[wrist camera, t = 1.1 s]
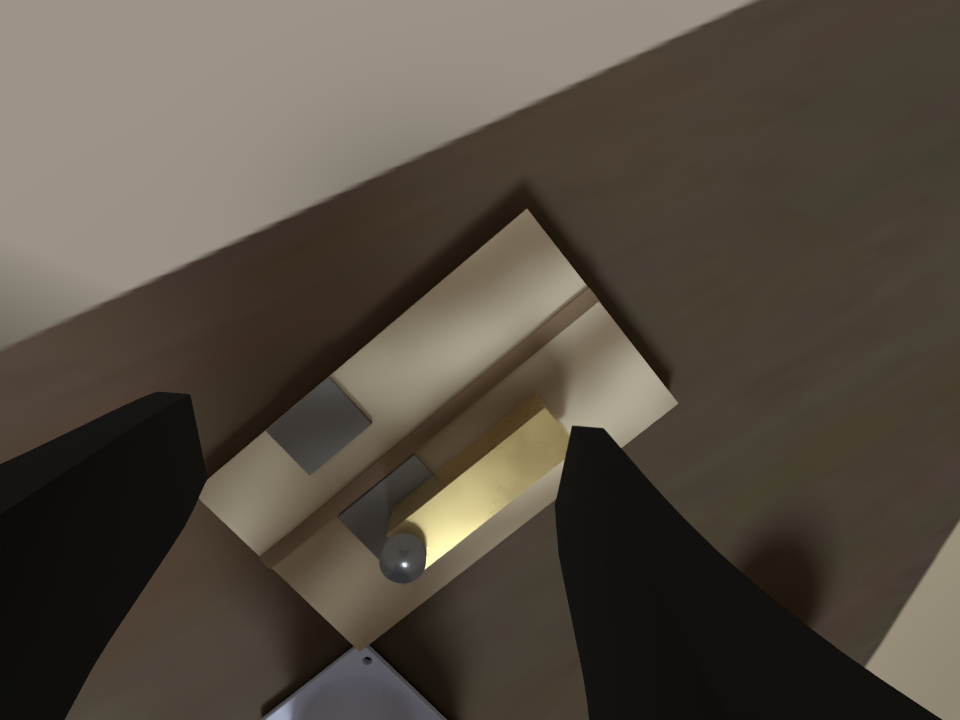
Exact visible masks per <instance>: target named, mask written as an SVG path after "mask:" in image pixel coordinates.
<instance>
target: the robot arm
mask: <svg viewBox="0 0 960 720" xmlns="http://www.w3.org/2000/svg"><path fill="white" fill-rule="evenodd" d="M206 481H207V474H206V469H205V464H204V459H203V455H202V450H201V445H200V440H199V435H198V430H197V425H196V420H195V416H194V411H193V406H192V401H191V396H190V394H180V393H167V392H155V393H152V394H150V395H147V396H145V397H142V398H140V399H138V400H135V401H133V402H131V403H129V404H127V405H124V406H122V407H120V408H118V409H116V410H114V411H112V412H110V413H107V414H105V415H103V416H101V417H99V418H97V419H95V420H93V421H91V422H89V423H87V424H85V425H83V426H81V427H78V428H76V429H74V430H72V431H70V432H68V433H66V434H64V435H62V436H60V437H58V438H56V439H54V440H51V441H49V442H47V443H45V444H43V445H41V446H39V447H37V448H35V449H33V450H31V451H29V452H26V453H24V454H22V455H20V456H17V457H15V458H13V459H11V460H8V461H6V462H4V463H2V464H0V720H65V718H66V716H67V714H68V712H69V710H70V708H71V707H72V705H73V703H74V701H75V699H76V697H77V696H78V694H79V692H80V690H81V688H82V686H83V684H84V683H85V681H86V679H87V677H88V675H89V673H90V671H91V670H92V668H93V666H94V665H95V663H96V661H97V660H98V658H99V656H100V655H101V653H102V652H103V650H104V648H105V647H106V645H107V643H108V642H109V640H110V639H111V637H112V636H113V634H114V633H115V631H116V630H117V628H118V627H119V625H120V624H121V622H122V621H123V619H124V618H125V616H126V615H127V613H128V612H129V610H130V609H131V607H132V606H133V604H134V603H135V601H136V600H137V598H138V597H139V595H140V594H141V592H142V591H143V589H144V588H145V586H146V585H147V583H148V582H149V580H150V579H151V577H152V576H153V574H154V573H155V571H156V570H157V568H158V567H159V565H160V564H161V562H162V561H163V559H164V558H165V556H166V555H167V553H168V552H169V550H170V548H171V547H172V545H173V544H174V542H175V541H176V539H177V538H178V536H179V535H180V533H181V531H182V530H183V528H184V527H185V525H186V523H187V521H188V519H189V517H190V515H191V513H192V511H193V509H194V507H195V505H196V503H197V501H198V498H199V496H200V494H201V492H202V490H203V487H204V485H205V483H206ZM555 514H556V528H557V540H558V552H559V558H560V563H561V569H562V574H563V579H564V584H565V589H566V594H567V599H568V604H569V608H570V613H571V618H572V623H573V628H574V633H575V638H576V643H577V648H578V652H579V657H580V662H581V667H582V672H583V678H584V684H585V691H586V697H587V704H588V713H589V720H942V719H940V718H939V717H937V716H935V715H934V714H932V713H931V712H929V711H928V710H926V709H925V708H923V707H922V706H920V705H919V704H917V703H916V702H914V701H913V700H911V699H910V698H908V697H907V696H905V695H904V694H902V693H901V692H899V691H898V690H896V689H895V688H893V687H892V686H890V685H889V684H887V683H886V682H884V681H883V680H881V679H880V678H878V677H877V676H875V675H874V674H873V673H871V672H870V671H868V670H867V669H865V668H864V667H863V666H861V665H860V664H858V663H857V662H856V661H854V660H853V659H851V658H850V657H848V656H847V655H846V654H844V653H843V652H841V651H840V650H839V649H837V648H836V647H835V646H833V645H832V644H831V643H829V642H828V641H827V640H825V639H824V638H823V637H821V636H820V635H819V634H817V633H816V632H815V631H813V630H812V629H811V628H809V627H808V626H807V625H805V624H804V623H803V622H801V621H800V620H799V619H797V618H796V617H795V616H793V615H792V614H791V613H790V612H788V611H787V610H786V609H785V608H783V607H782V606H781V605H780V604H778V603H777V602H776V601H775V600H773V599H772V598H771V597H770V596H768V595H767V594H766V593H765V592H764V591H763V590H761V589H760V588H759V587H758V586H757V585H756V584H754V583H753V582H752V581H751V580H750V579H749V578H747V577H746V576H745V575H744V574H743V573H742V572H740V571H739V570H738V569H737V568H736V567H735V566H733V565H732V564H731V563H730V562H729V561H728V560H727V559H726V558H725V557H723V556H722V555H721V554H720V553H719V552H718V551H717V550H716V549H715V548H714V547H713V546H712V545H711V544H710V543H709V542H708V541H707V540H706V539H705V538H704V537H702V536H701V535H700V534H699V533H698V532H697V531H696V530H695V529H694V528H693V527H692V526H691V525H690V524H689V523H688V522H687V521H686V520H685V519H684V518H683V517H682V516H681V515H680V514H679V513H678V511H677V510H676V509H675V508H674V507H673V506H672V505H671V504H670V503H669V502H668V501H667V500H666V499H665V498H664V497H663V496H662V494H661V493H660V492H659V491H658V490H657V489H656V488H655V487H654V486H653V485H652V483H651V482H650V481H649V480H648V479H647V478H646V477H645V475H644V474H643V473H642V472H641V471H640V470H639V469H638V467H637V466H636V465H635V464H634V463H633V462H632V460H631V459H630V458H629V457H628V456H627V455H626V453H625V452H624V451H623V450H622V449H621V448H620V446H619V445H618V444H617V443H616V442H615V440H614V439H613V438H612V437H611V436H610V435H609V433H608V432H607V431H606V430H605V429H604V428H598V427H585V426H573V425H572V428H571V432H570V437H569V442H568V446H567V451H566V456H565V460H564V465H563V470H562V474H561V479H560V484H559V488H558V493H557V498H556V502H555ZM365 657H370V658H371V659H370V660H367V659H365ZM261 720H447V719H446V718H445V717H444V716H443V715H442V714H440V713H439V712H438V711H437V710H436V709H435V708H434V707H433V706H432V705H431V704H430V703H429V702H428V701H427V700H426V699H425V698H424V697H423V696H422V695H421V694H420V693H419V692H418V691H417V690H415V689H414V688H413V687H412V686H411V685H410V684H409V683H408V682H407V681H406V680H405V679H404V678H403V677H402V676H401V675H400V674H399V673H398V672H397V671H396V670H395V669H394V668H393V667H392V666H390V665H389V664H388V663H387V662H386V661H385V660H384V659H383V658H382V657H381V656H380V655H379V654H378V653H377V652H376V651H375V650H374V649H373V648H372V647H371V646H370V645H368V646H367V647H365V648H364V649H363V650H362V651H360V652H359V651H358V650H357V649H356V648H355V647H354V646H353V647H352V648H351V649H349V650H348V651H347V652H346V653H344V654H343V655H342V656H341V657H339V658H338V659H337V660H335V661H334V662H333V663H332V664H330V665H329V666H328V667H326V668H325V669H324V670H323V671H321V672H320V673H319V674H318V675H316V676H315V677H314V678H312V679H311V680H310V681H309V682H307V683H306V684H305V685H303V686H302V687H301V688H300V689H298V690H297V691H296V692H295V693H293V694H292V695H291V696H289V697H288V698H287V699H286V700H284V701H283V702H282V703H280V704H279V705H278V706H277V707H275V708H274V709H273V710H271V711H270V712H269V713H268V714H266V715H265V716H264V717H263V718H262V719H261Z"/></svg>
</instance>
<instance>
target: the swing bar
mask: <svg viewBox="0 0 960 720" xmlns="http://www.w3.org/2000/svg"><path fill="white" fill-rule="evenodd" d="M569 437H570V433H569V432H568V430H567V429H566V427H565V426H564V425H563V424H562V423H561V421H560V420H559V419H558V418H557V417H556V415H555V414H554V413H553V412H552V411H551V410H550V408H549V407H548V406H547V405H546V404H545V402H544V401H543V400H542V399H541V398H540V396H539V395H538V394H537V393H536V392H535V393H534V394H533V395H531V396H530V397H529V398H528V399H526V400H525V401H524V402H523V403H521V404H520V405H519V406H518V407H517V408H515V409H514V410H513V411H512V412H510V413H509V414H508V415H507V416H505V417H504V418H503V419H502V420H500V421H499V422H498V423H497V424H495V425H494V426H493V427H492V428H490V429H489V430H488V431H487V432H486V433H484V434H483V435H482V436H481V437H479V438H478V439H477V440H476V441H474V442H473V443H472V444H471V445H469V446H468V447H467V448H466V449H464V450H463V451H462V452H461V453H460V454H458V455H457V456H456V457H455V458H453V459H452V460H451V461H450V462H448V463H447V464H446V465H445V466H443V467H442V468H441V469H440V470H438V471H437V472H436V473H435V474H433V475H432V476H431V477H430V478H429V479H427V480H426V481H425V482H424V483H422V484H421V485H420V486H419V487H417V488H416V489H415V490H414V491H412V492H411V493H410V494H409V495H407V496H406V497H405V498H404V499H403V500H401V501H400V502H399V503H398V504H396V505H395V506H394V507H393V509H392V513H391V516H390V519H389V523H388V527H387V531H386V535H385V539H384V543H383V547H382V551H381V555H380V560H379V565H380V569H381V572H382V573H383V575H384V576H385V577H386V578H387V579H389V580H391V581H393V582H395V583H410V582H412V581H414V580H416V579H418V578H419V577H420V576H421V575H422V573H423V572H424V570H425V569H426V568H427V567H429V566H430V565H431V564H432V563H434V562H435V561H436V560H438V559H439V558H440V557H441V556H443V555H444V554H445V553H446V552H448V551H449V550H450V549H452V548H453V547H454V546H455V545H457V544H458V543H459V542H460V541H462V540H463V539H464V538H466V537H467V536H468V535H469V534H471V533H472V532H473V531H474V530H476V529H477V528H478V527H479V526H481V525H482V524H483V523H485V522H486V521H487V520H488V519H490V518H491V517H492V516H493V515H495V514H496V513H497V512H499V511H500V510H501V509H502V508H504V507H505V506H506V505H507V504H509V503H510V502H511V501H513V500H514V499H515V498H516V497H518V496H519V495H520V494H521V493H523V492H524V491H525V490H526V489H528V488H529V487H530V486H532V485H533V484H534V483H535V482H537V481H538V480H539V479H540V478H542V477H543V476H544V475H546V474H547V473H548V472H549V471H551V470H552V469H553V468H554V467H556V466H557V465H558V464H560V463H561V462H562V461H563V460H565V456H566V451H567V446H568V442H569Z"/></svg>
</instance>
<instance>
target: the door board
mask: <svg viewBox="0 0 960 720" xmlns="http://www.w3.org/2000/svg"><path fill="white" fill-rule="evenodd" d="M535 392H536V393H537V394H538V395H539V396H540V398H541V399H542V400H543V401H544V402H545V404H546V405H547V406H548V407H549V408H550V410H551V411H552V412H553V413H554V414H555V415H556V417H557V418H558V419H559V420H560V421H561V423H562V424H563V425H564V426H565V427H566V429H567V430H568V432H569V433H570V432H571V428H572V425H573V426H585V427H598V428H604V429H605V430H606V431H607V432H608V433H609V435H610V436H611V437H612V438H613V439H614V440H615V442H616V443H617V444H618V445H619V446H620V448H622V447H623V446H624V445H626V444H627V443H628V442H629V441H631V440H632V439H633V438H635V437H636V436H637V435H638V434H640V433H641V432H642V431H644V430H645V429H646V428H647V427H649V426H650V425H651V424H653V423H654V422H655V421H656V420H658V419H659V418H660V417H662V416H663V415H664V414H665V413H667V412H668V411H669V410H671V409H672V408H673V407H674V406H676V405H677V404H678V402H677V401H676V400H675V399H674V397H673V396H672V395H671V393H670V392H669V391H668V390H667V388H666V387H665V386H664V384H663V383H662V382H661V381H660V379H659V378H658V377H657V375H656V374H655V373H654V371H653V370H652V369H651V368H650V366H649V365H648V364H647V362H646V361H645V360H644V359H643V357H642V356H641V355H640V353H639V352H638V351H637V350H636V348H635V347H634V346H633V344H632V343H631V342H630V341H629V339H628V338H627V337H626V335H625V334H624V333H623V332H622V330H621V329H620V328H619V326H618V325H617V324H616V323H615V321H614V320H613V319H612V317H611V316H610V315H609V313H608V312H607V311H606V310H605V308H604V307H603V306H602V304H601V303H600V302H599V299H598V298H597V297H596V296H595V294H594V293H593V292H592V290H591V289H590V288H589V287H588V286H587V285H586V284H585V283H584V281H583V280H582V279H581V277H580V276H579V275H578V274H577V272H576V271H575V270H574V268H573V267H572V266H571V265H570V263H569V262H568V261H567V259H566V258H565V257H564V255H563V254H562V253H561V252H560V250H559V249H558V248H557V246H556V245H555V244H554V243H553V241H552V240H551V239H550V237H549V236H548V235H547V234H546V232H545V231H544V230H543V228H542V227H541V226H540V225H539V223H538V222H537V221H536V219H535V218H534V217H533V216H532V214H531V213H530V212H529V210H528V209H526V210H524V211H523V212H522V213H520V214H519V215H518V216H517V217H516V218H515V219H513V220H512V221H511V222H510V223H509V224H507V225H506V226H505V227H504V228H503V229H502V230H500V231H499V232H498V233H497V234H496V235H495V236H493V237H492V238H491V239H490V240H489V241H487V242H486V243H485V244H484V245H483V246H482V247H480V248H479V249H478V250H477V251H476V252H475V253H473V254H472V255H471V256H470V257H469V258H467V259H466V260H465V261H464V262H463V263H462V264H460V265H459V266H458V267H457V268H456V269H454V270H453V271H452V272H451V273H450V274H449V275H447V276H446V277H445V278H444V279H443V280H442V281H440V282H439V283H438V284H437V285H436V286H434V287H433V288H432V289H431V290H430V291H429V292H427V293H426V294H425V295H424V296H423V297H422V298H420V299H419V300H418V301H417V302H416V303H414V304H413V305H412V306H411V307H410V308H409V309H407V310H406V311H405V312H404V313H403V314H401V315H400V316H399V317H398V318H397V319H396V320H394V321H393V322H392V323H391V324H390V325H389V326H387V327H386V328H385V329H384V330H383V331H381V332H380V333H379V334H378V335H377V336H376V337H374V338H373V339H372V340H371V341H370V342H369V343H367V344H366V345H365V346H364V347H363V348H361V349H360V350H359V351H358V352H357V353H356V354H354V355H353V356H352V357H351V358H350V359H348V360H347V361H346V362H345V363H344V364H343V365H341V366H340V367H339V368H338V369H337V370H336V371H334V372H333V373H332V374H331V375H330V376H328V377H327V378H326V379H325V380H324V381H323V382H321V383H320V384H319V385H318V386H317V387H316V388H314V389H313V390H312V391H311V392H310V393H308V394H307V395H306V396H305V397H304V398H303V399H301V400H300V401H299V402H298V403H297V404H295V405H294V406H293V407H292V408H291V409H290V410H288V411H287V412H286V413H285V414H284V415H283V416H281V417H280V418H279V419H278V420H277V421H275V422H274V423H273V424H272V425H271V426H270V427H268V428H267V429H266V430H265V431H264V432H262V433H261V434H260V435H259V436H258V437H257V438H255V439H254V440H253V441H252V442H251V443H250V444H248V445H247V446H246V447H245V448H244V449H242V450H241V451H240V452H239V453H238V454H237V455H235V456H234V457H233V458H232V459H231V460H230V461H228V462H227V463H226V464H225V465H224V466H222V467H221V468H220V469H219V470H218V471H217V472H215V473H214V474H213V475H212V476H211V477H209V478H208V479H207V481H206V483H205V485H204V487H203V490H202V492H201V494H200V496H199V499H200V500H201V501H202V502H203V503H204V504H205V505H206V506H207V507H208V508H209V509H210V510H211V511H212V512H213V513H214V514H216V515H217V516H218V517H219V518H220V519H221V520H222V521H223V522H224V523H225V524H226V525H227V526H228V527H229V528H230V529H231V530H232V531H233V532H234V533H235V534H237V535H238V536H239V537H240V538H241V539H242V540H243V541H244V542H245V543H246V544H247V545H248V546H249V547H250V548H251V549H252V550H253V551H254V552H255V553H256V554H258V555H259V556H260V557H259V560H260V561H261V562H262V563H263V564H264V565H265V566H266V567H267V568H268V569H269V570H270V569H273V570H274V571H275V572H276V573H277V574H279V575H280V576H281V577H282V578H283V579H284V580H285V581H286V582H287V583H288V584H289V585H290V586H291V587H292V588H293V589H294V590H295V591H296V592H297V593H298V594H300V595H301V596H302V597H303V598H304V599H305V600H306V601H307V602H308V603H309V604H310V605H311V606H312V607H313V608H314V609H315V610H316V611H317V612H318V613H319V614H321V615H322V616H323V617H324V618H325V619H326V620H327V621H328V622H329V623H330V624H331V625H332V626H333V627H334V628H335V629H336V630H337V631H338V632H339V633H340V634H342V635H343V636H344V637H345V638H346V639H347V640H348V641H349V642H350V643H351V644H352V645H353V646H354V647H355V648H356V649H357V650H358V651H359V652H360V651H362V650H363V649H364V648H365V647H367V646H368V645H369V644H371V643H372V642H373V641H374V640H376V639H377V638H378V637H380V636H381V635H382V634H383V633H385V632H386V631H387V630H389V629H390V628H391V627H392V626H394V625H395V624H396V623H397V622H399V621H400V620H401V619H403V618H404V617H405V616H406V615H408V614H409V613H410V612H412V611H413V610H414V609H415V608H417V607H418V606H419V605H421V604H422V603H423V602H424V601H426V600H427V599H428V598H430V597H431V596H432V595H433V594H435V593H436V592H437V591H439V590H440V589H441V588H442V587H444V586H445V585H446V584H447V583H449V582H450V581H451V580H453V579H454V578H455V577H456V576H458V575H459V574H460V573H462V572H463V571H464V570H465V569H467V568H468V567H469V566H471V565H472V564H473V563H474V562H476V561H477V560H478V559H480V558H481V557H482V556H483V555H485V554H486V553H487V552H488V551H490V550H491V549H492V548H494V547H495V546H496V545H497V544H499V543H500V542H501V541H503V540H504V539H505V538H506V537H508V536H509V535H510V534H512V533H513V532H514V531H515V530H517V529H518V528H519V527H521V526H522V525H523V524H524V523H526V522H527V521H528V520H530V519H531V518H532V517H533V516H535V515H536V514H537V513H538V512H540V511H541V510H542V509H544V508H545V507H546V506H547V505H549V504H550V503H551V502H553V501H554V500H555V499H556V498H557V493H558V488H559V484H560V479H561V474H562V470H563V465H564V460H563V461H562V462H561V463H560V464H558V465H557V466H556V467H554V468H553V469H552V470H551V471H549V472H548V473H547V474H546V475H544V476H543V477H542V478H540V479H539V480H538V481H537V482H535V483H534V484H533V485H532V486H530V487H529V488H528V489H526V490H525V491H524V492H523V493H521V494H520V495H519V496H518V497H516V498H515V499H514V500H513V501H511V502H510V503H509V504H507V505H506V506H505V507H504V508H502V509H501V510H500V511H499V512H497V513H496V514H495V515H493V516H492V517H491V518H490V519H488V520H487V521H486V522H485V523H483V524H482V525H481V526H479V527H478V528H477V529H476V530H474V531H473V532H472V533H471V534H469V535H468V536H467V537H466V538H464V539H463V540H462V541H460V542H459V543H458V544H457V545H455V546H454V547H453V548H452V549H450V550H449V551H448V552H446V553H445V554H444V555H443V556H441V557H440V558H439V559H438V560H436V561H435V562H434V563H432V564H431V565H430V566H429V567H427V568H426V569H425V570H424V572H423V573H422V575H421V576H420V577H419V578H418V579H416V580H414V581H412V582H410V583H395V582H393V581H391V580H389V579H387V578H386V577H385V576H384V575H383V573H382V572H381V569H380V565H379V560H380V555H381V551H382V547H383V543H384V539H385V535H386V531H387V527H388V523H389V519H390V516H391V513H392V509H393V507H394V506H395V505H396V504H398V503H399V502H400V501H401V500H403V499H404V498H405V497H406V496H407V495H409V494H410V493H411V492H412V491H414V490H415V489H416V488H417V487H419V486H420V485H421V484H422V483H424V482H425V481H426V480H427V479H429V478H430V477H431V476H432V475H433V474H435V473H436V472H437V471H438V470H440V469H441V468H442V467H443V466H445V465H446V464H447V463H448V462H450V461H451V460H452V459H453V458H455V457H456V456H457V455H458V454H460V453H461V452H462V451H463V450H464V449H466V448H467V447H468V446H469V445H471V444H472V443H473V442H474V441H476V440H477V439H478V438H479V437H481V436H482V435H483V434H484V433H486V432H487V431H488V430H489V429H490V428H492V427H493V426H494V425H495V424H497V423H498V422H499V421H500V420H502V419H503V418H504V417H505V416H507V415H508V414H509V413H510V412H512V411H513V410H514V409H515V408H517V407H518V406H519V405H520V404H521V403H523V402H524V401H525V400H526V399H528V398H529V397H530V396H531V395H533V394H534V393H535Z"/></svg>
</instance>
